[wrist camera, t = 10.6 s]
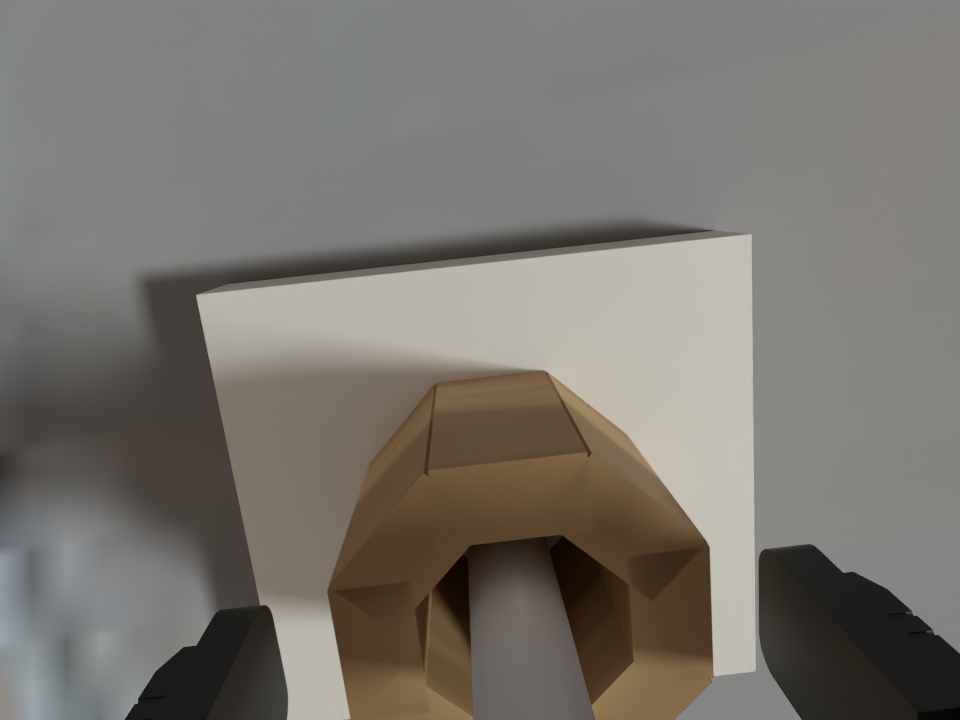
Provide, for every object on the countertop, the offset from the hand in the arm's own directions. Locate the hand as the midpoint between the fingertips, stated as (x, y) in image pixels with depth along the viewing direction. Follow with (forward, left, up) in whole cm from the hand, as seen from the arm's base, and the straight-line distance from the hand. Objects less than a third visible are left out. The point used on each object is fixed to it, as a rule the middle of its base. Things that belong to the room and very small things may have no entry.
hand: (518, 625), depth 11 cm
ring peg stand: (0, 0, -7) cm, 7 cm away
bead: (0, 0, -5) cm, 5 cm away
